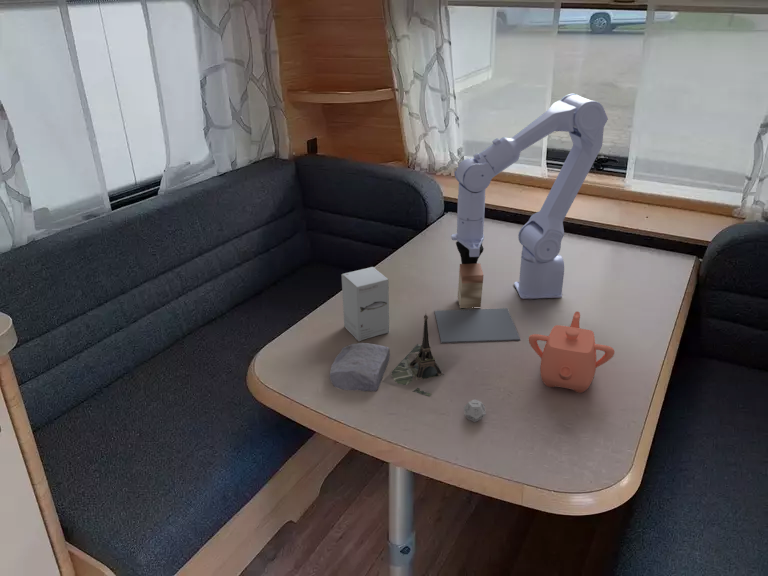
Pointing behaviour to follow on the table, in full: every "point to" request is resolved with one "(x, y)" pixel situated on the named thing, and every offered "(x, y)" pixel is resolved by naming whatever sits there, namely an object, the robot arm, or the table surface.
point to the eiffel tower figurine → (418, 364)
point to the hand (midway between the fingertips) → (468, 273)
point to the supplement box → (365, 303)
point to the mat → (476, 325)
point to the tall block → (470, 285)
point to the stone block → (360, 367)
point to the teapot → (569, 356)
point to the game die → (474, 410)
